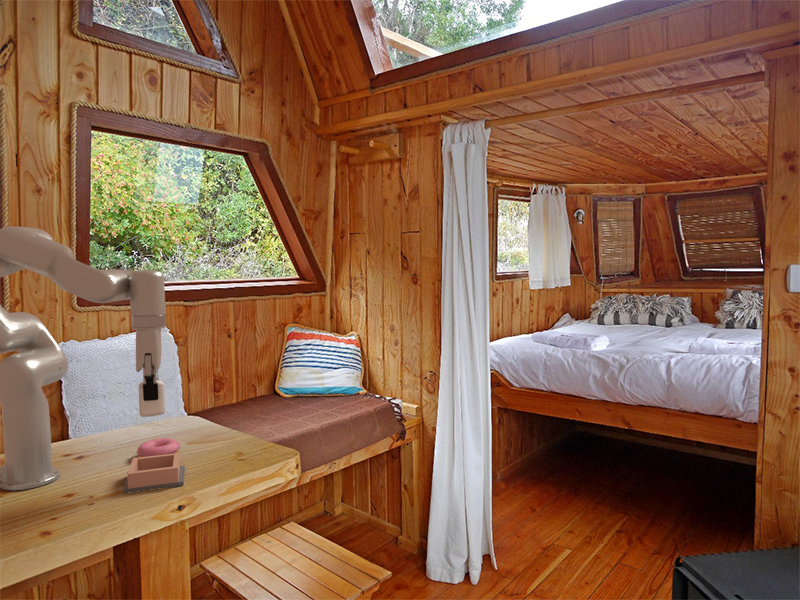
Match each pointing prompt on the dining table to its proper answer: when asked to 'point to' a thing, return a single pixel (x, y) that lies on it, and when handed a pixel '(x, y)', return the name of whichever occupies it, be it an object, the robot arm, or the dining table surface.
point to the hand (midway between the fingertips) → (151, 397)
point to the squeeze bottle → (152, 401)
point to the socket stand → (154, 473)
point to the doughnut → (158, 447)
